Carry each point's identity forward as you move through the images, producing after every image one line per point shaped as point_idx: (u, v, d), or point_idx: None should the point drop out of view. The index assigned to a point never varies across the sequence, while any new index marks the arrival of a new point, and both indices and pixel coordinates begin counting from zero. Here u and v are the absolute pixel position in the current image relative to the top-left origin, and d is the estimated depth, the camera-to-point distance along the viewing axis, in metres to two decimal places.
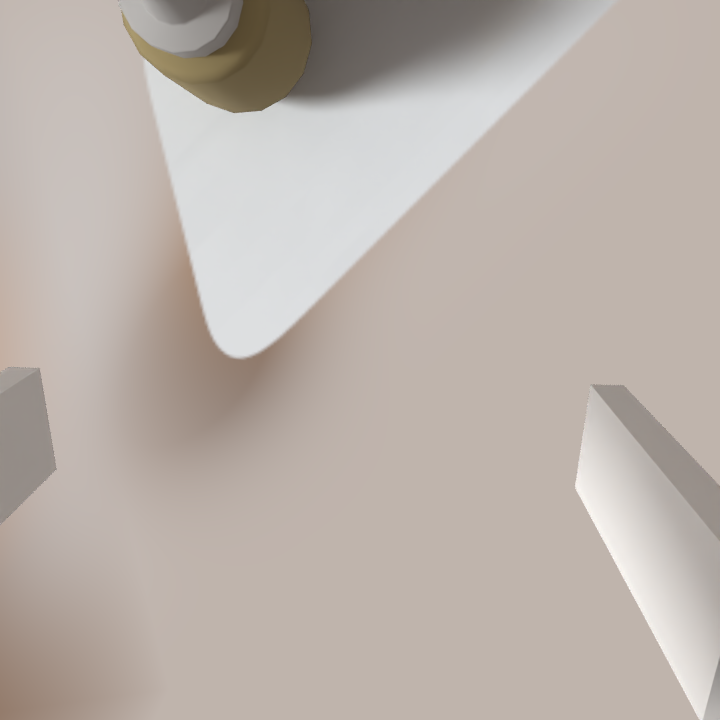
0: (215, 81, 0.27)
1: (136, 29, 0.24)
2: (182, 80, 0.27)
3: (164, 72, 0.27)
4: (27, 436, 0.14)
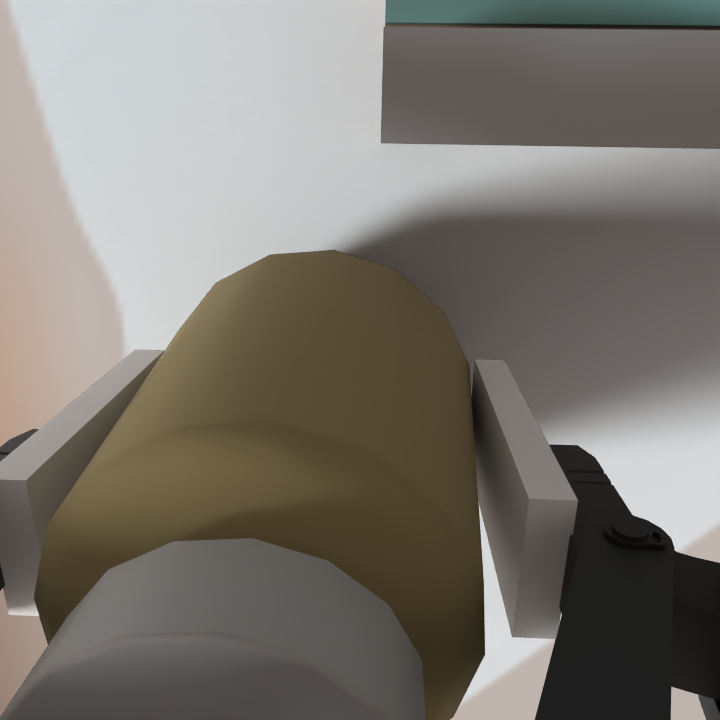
0: None
1: None
2: None
3: None
4: None
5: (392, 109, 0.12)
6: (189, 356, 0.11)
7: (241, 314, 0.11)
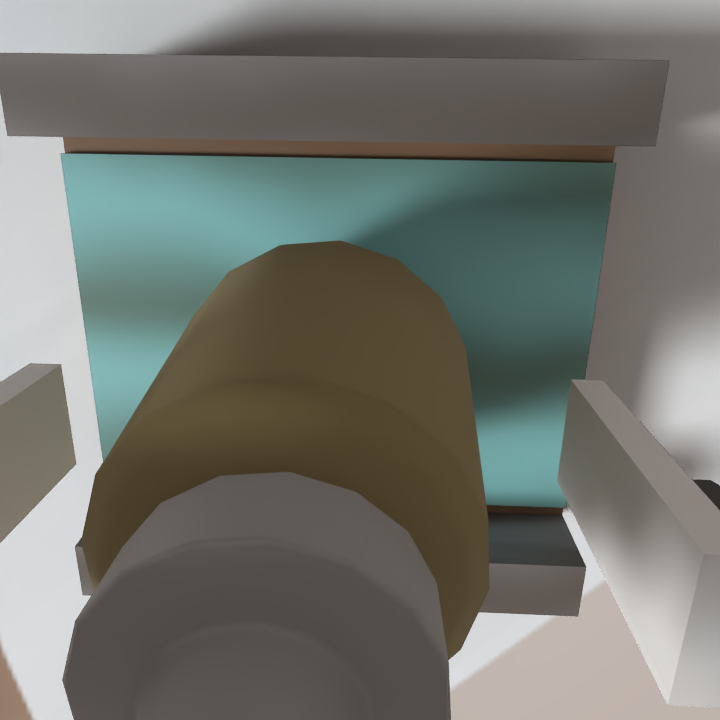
0: None
1: None
2: None
3: None
4: (49, 431, 0.15)
5: (86, 580, 0.21)
6: (216, 329, 0.12)
7: (260, 293, 0.12)
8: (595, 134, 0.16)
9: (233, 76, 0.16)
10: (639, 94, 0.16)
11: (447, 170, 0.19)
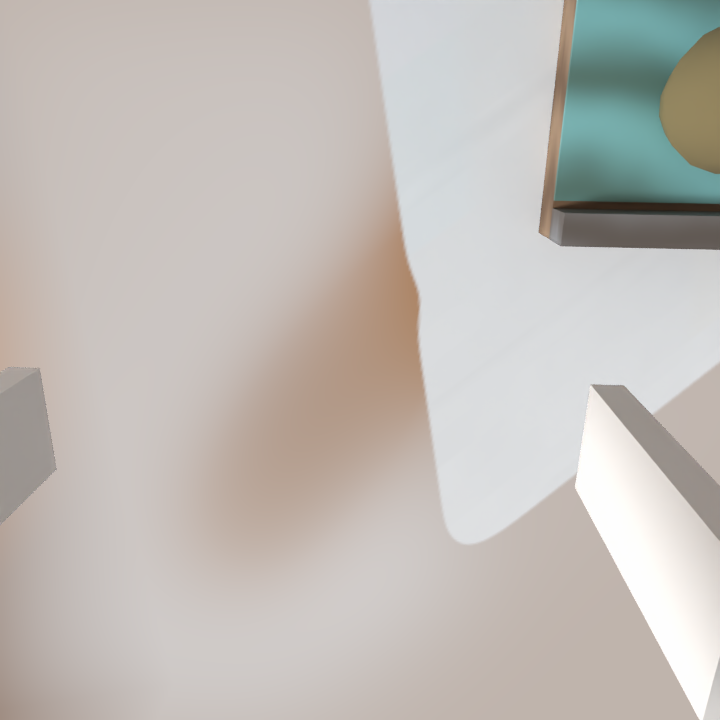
0: None
1: None
2: None
3: None
4: (27, 436, 0.14)
5: (565, 236, 0.38)
6: None
7: None
8: None
9: None
10: None
11: None
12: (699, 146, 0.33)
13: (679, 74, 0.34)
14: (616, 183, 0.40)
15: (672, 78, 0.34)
